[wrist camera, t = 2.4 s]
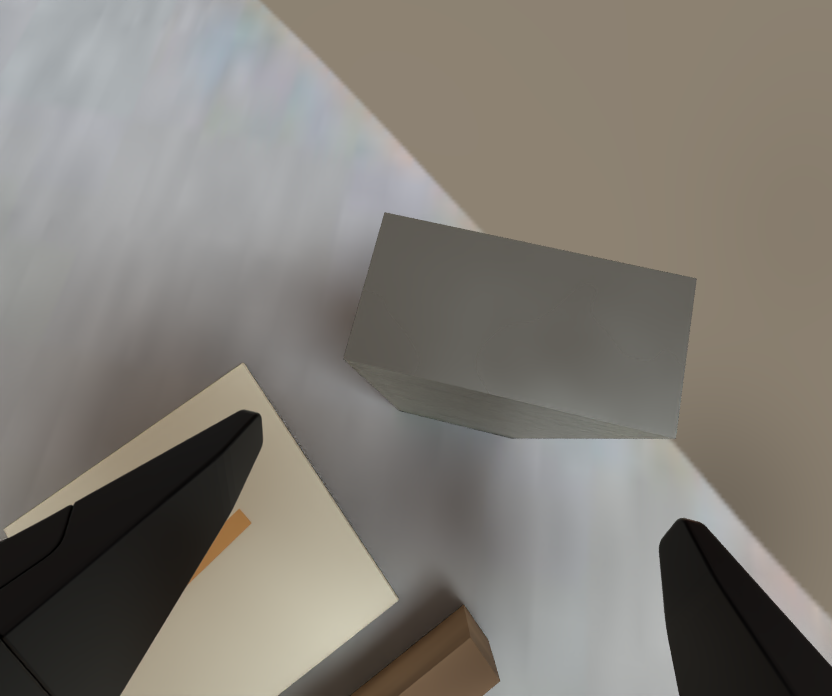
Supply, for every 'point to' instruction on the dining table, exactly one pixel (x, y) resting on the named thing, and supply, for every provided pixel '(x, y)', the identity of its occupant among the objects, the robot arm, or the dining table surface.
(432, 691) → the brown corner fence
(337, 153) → the dining table surface
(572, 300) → the upright grey pillar block
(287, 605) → the pad
